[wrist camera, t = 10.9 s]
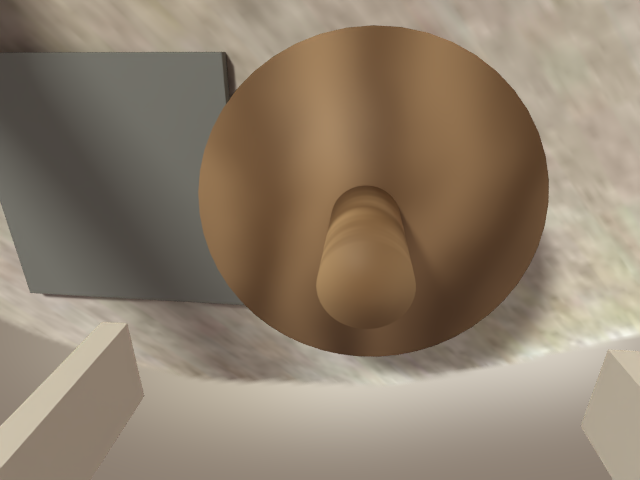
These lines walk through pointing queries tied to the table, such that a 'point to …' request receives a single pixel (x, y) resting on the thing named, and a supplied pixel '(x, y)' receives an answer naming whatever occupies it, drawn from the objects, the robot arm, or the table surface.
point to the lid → (373, 191)
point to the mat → (110, 171)
